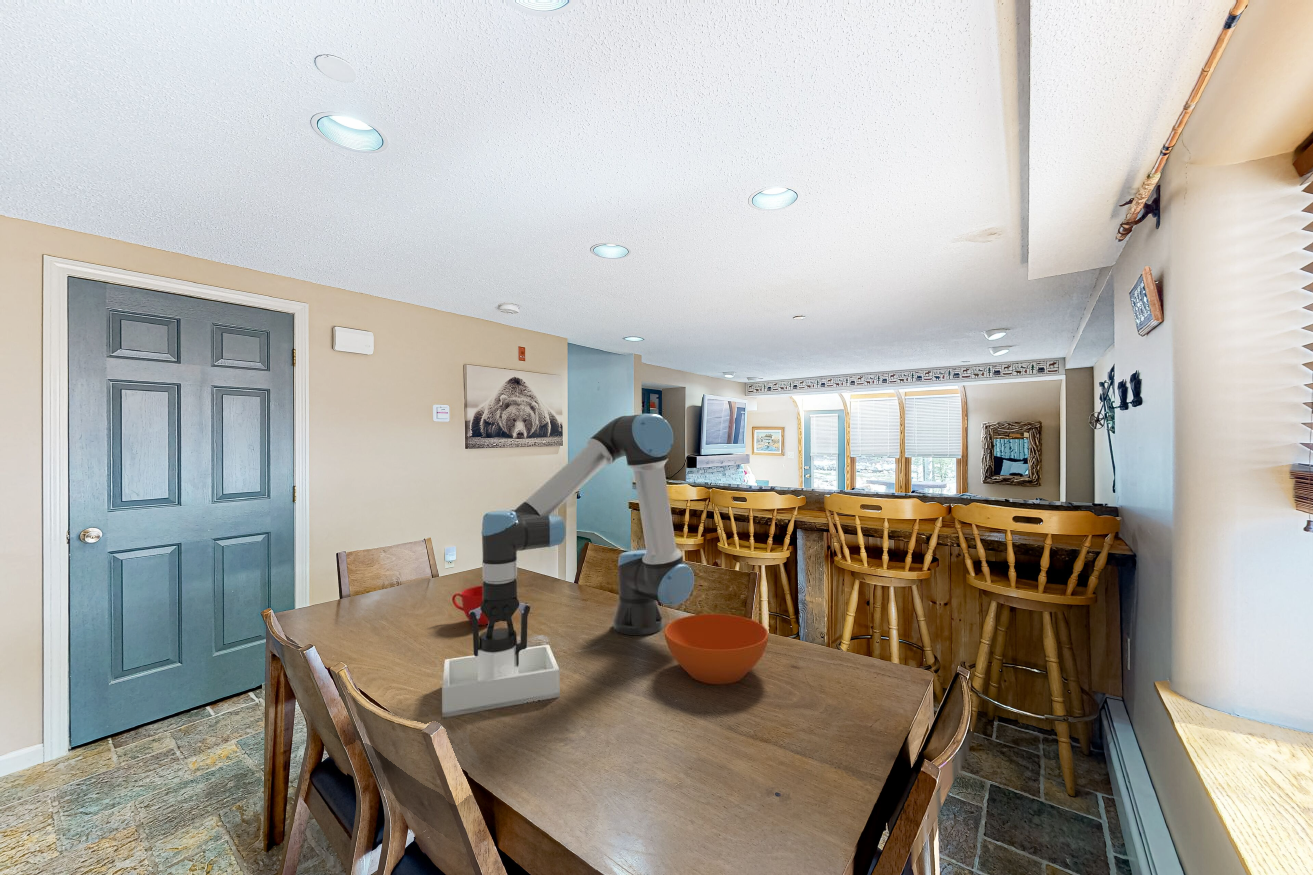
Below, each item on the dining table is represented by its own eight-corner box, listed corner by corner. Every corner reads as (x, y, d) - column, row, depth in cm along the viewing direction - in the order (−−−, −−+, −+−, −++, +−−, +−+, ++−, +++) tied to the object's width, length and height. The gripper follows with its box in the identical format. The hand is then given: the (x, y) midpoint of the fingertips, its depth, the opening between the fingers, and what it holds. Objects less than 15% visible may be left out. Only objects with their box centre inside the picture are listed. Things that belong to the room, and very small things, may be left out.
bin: (549, 668, 129) (548, 644, 129) (559, 696, 114) (559, 669, 114) (445, 685, 121) (445, 659, 121) (442, 717, 106) (442, 688, 106)
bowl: (778, 659, 132) (778, 620, 133) (754, 704, 110) (753, 657, 110) (687, 645, 143) (686, 609, 143) (647, 683, 120) (647, 640, 120)
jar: (483, 700, 111) (483, 643, 111) (473, 685, 118) (472, 632, 118) (524, 688, 116) (523, 634, 116) (511, 675, 123) (511, 624, 123)
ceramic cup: (463, 614, 172) (462, 584, 173) (511, 616, 170) (511, 585, 170) (441, 628, 160) (441, 595, 160) (493, 629, 157) (493, 596, 157)
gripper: (536, 572, 124) (537, 670, 124) (459, 579, 118) (460, 682, 118) (540, 579, 117) (541, 683, 117) (459, 587, 111) (460, 697, 111)
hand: (500, 682), depth 117 cm, fingers open, 4 cm apart
